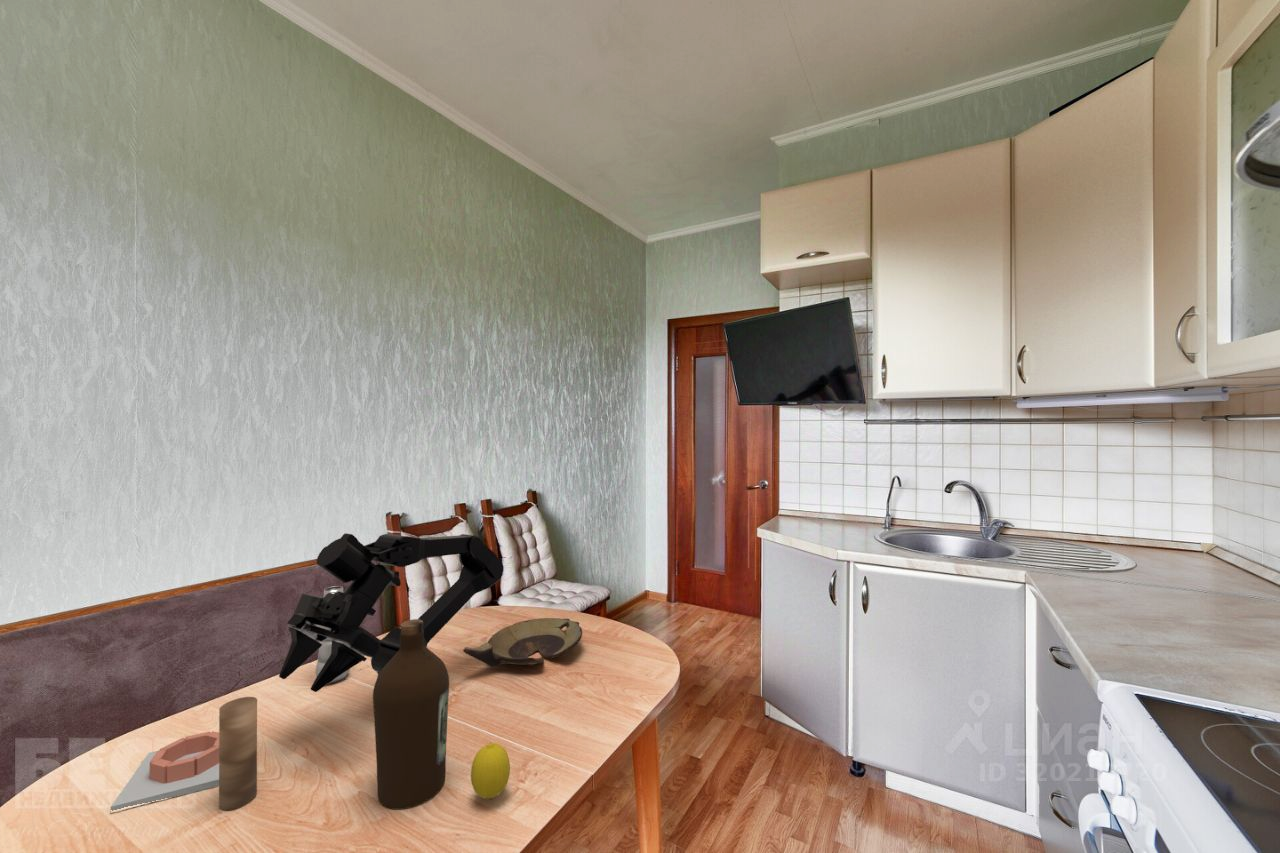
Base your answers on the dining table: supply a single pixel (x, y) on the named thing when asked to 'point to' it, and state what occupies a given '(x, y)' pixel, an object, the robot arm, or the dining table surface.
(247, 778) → the walnut peg
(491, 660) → the oil lamp
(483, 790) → the lemon
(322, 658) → the plastic bottle
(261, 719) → the dining table surface
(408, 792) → the olive oil
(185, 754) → the band dock
